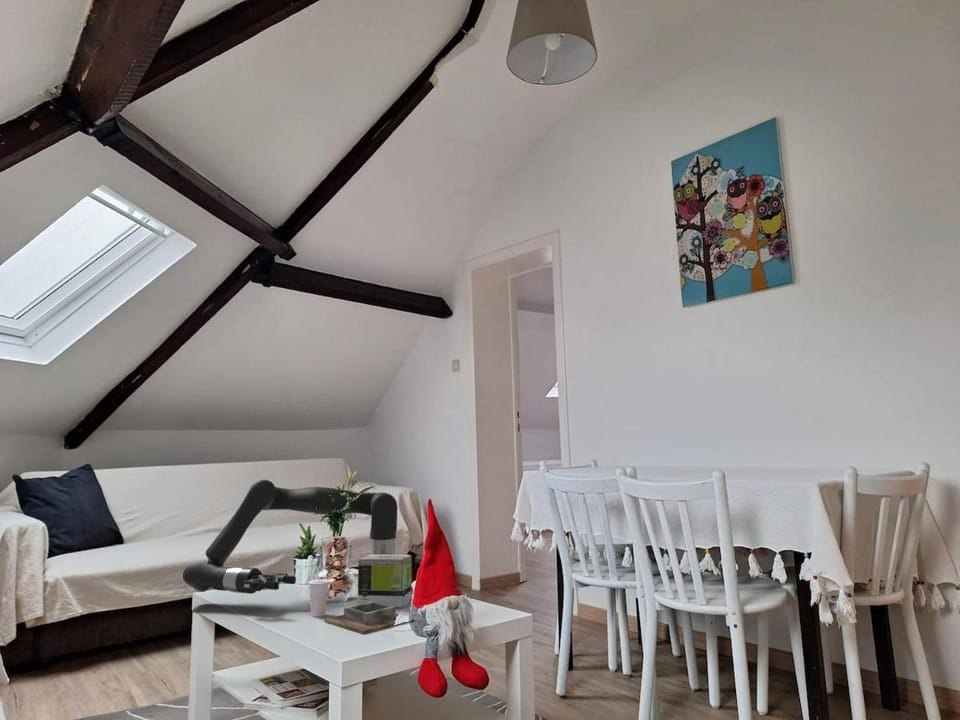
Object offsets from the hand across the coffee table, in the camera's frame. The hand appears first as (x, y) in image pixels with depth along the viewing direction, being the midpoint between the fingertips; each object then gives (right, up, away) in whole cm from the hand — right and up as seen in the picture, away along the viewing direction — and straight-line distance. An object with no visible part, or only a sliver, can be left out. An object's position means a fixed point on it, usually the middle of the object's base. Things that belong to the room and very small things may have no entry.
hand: (286, 583), depth 187 cm
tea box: (+28, -10, +9) cm, 31 cm away
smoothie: (+11, -8, -5) cm, 14 cm away
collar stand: (+27, -7, -12) cm, 30 cm away
